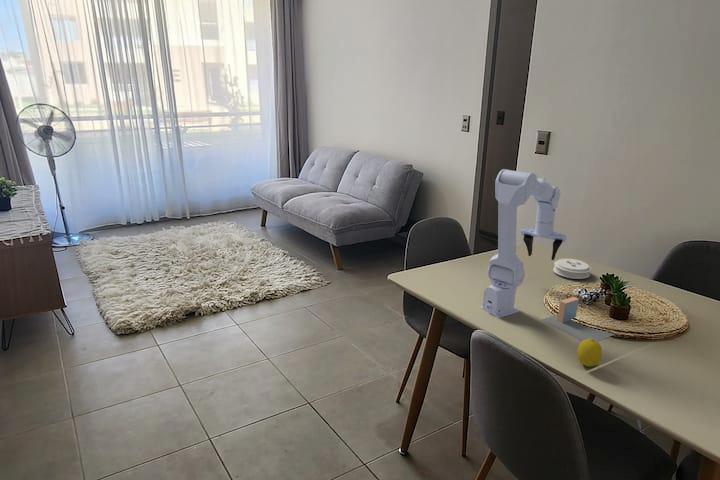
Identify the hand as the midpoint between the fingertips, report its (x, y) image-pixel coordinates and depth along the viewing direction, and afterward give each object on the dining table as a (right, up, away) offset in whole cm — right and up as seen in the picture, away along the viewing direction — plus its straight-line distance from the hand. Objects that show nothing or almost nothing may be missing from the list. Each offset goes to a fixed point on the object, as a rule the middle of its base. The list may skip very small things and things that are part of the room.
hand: (541, 256), depth 160 cm
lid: (+17, -7, +14) cm, 23 cm away
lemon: (-6, -26, -43) cm, 51 cm away
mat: (+1, -20, -25) cm, 32 cm away
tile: (-1, -18, -21) cm, 27 cm away
